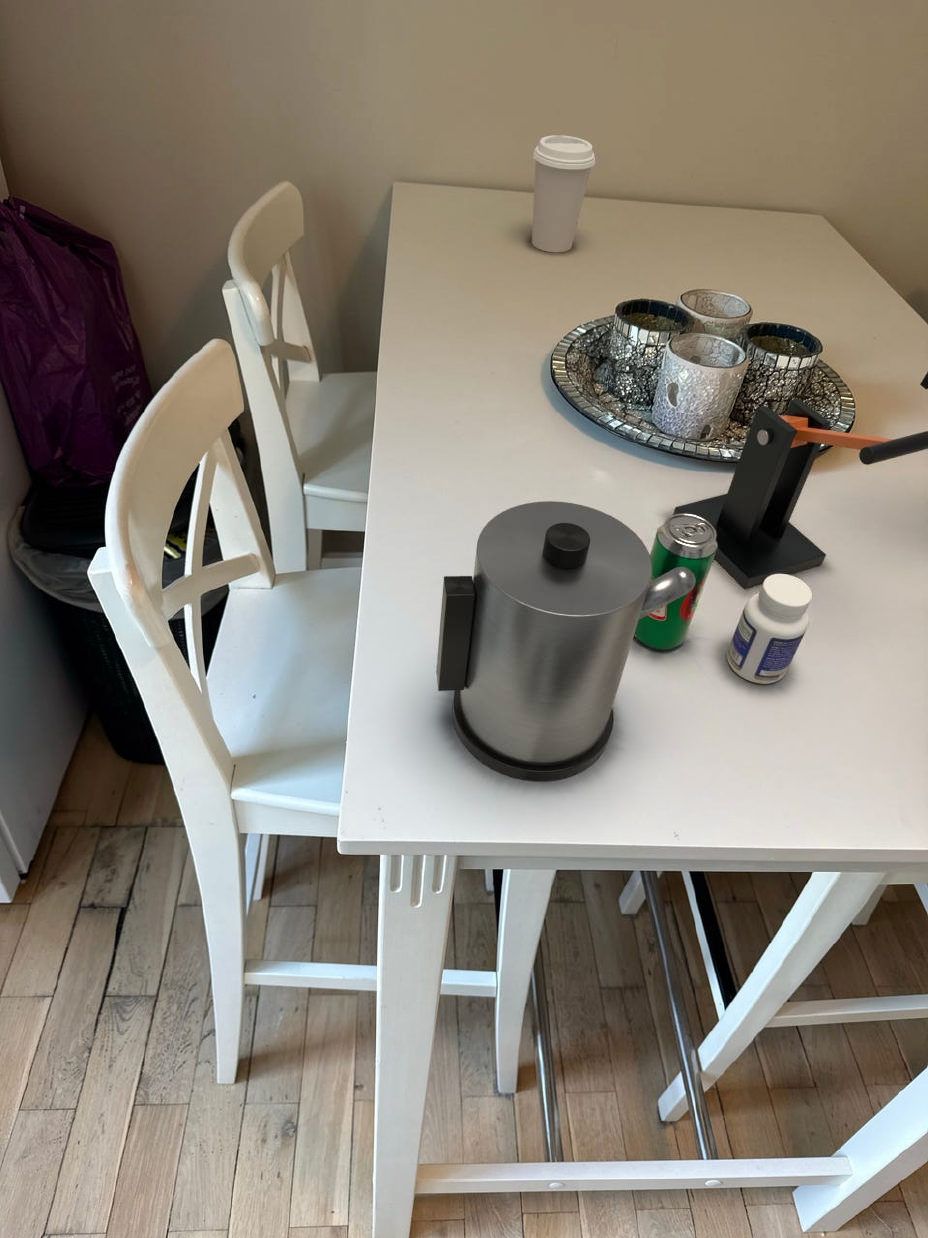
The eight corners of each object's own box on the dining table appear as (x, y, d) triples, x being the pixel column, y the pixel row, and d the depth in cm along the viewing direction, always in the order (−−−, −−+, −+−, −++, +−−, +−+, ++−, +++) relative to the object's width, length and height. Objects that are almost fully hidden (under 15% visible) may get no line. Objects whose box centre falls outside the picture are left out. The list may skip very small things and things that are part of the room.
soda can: (619, 618, 81) (648, 514, 72) (668, 609, 82) (702, 506, 74) (643, 657, 77) (676, 553, 69) (694, 647, 79) (733, 544, 70)
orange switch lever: (934, 455, 72) (937, 425, 71) (872, 472, 70) (874, 442, 69) (804, 435, 84) (804, 410, 84) (747, 449, 82) (747, 423, 81)
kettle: (630, 654, 78) (683, 478, 65) (669, 775, 68) (741, 600, 55) (428, 659, 75) (440, 478, 62) (441, 786, 66) (459, 605, 53)
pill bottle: (793, 658, 79) (829, 585, 73) (775, 694, 75) (811, 621, 69) (736, 633, 81) (767, 559, 74) (716, 667, 77) (747, 593, 71)
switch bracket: (821, 564, 89) (881, 439, 78) (744, 588, 85) (796, 460, 75) (746, 496, 96) (791, 374, 86) (672, 516, 93) (710, 391, 82)
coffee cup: (582, 237, 146) (599, 138, 135) (579, 259, 139) (596, 157, 128) (525, 229, 146) (537, 130, 136) (519, 251, 139) (531, 149, 129)
